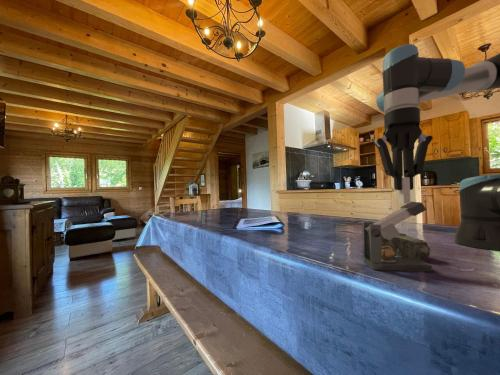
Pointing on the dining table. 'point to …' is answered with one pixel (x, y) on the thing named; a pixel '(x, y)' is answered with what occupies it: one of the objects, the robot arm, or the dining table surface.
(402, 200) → the robot arm
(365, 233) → the cracker base
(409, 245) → the stone
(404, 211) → the lever
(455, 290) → the dining table surface
